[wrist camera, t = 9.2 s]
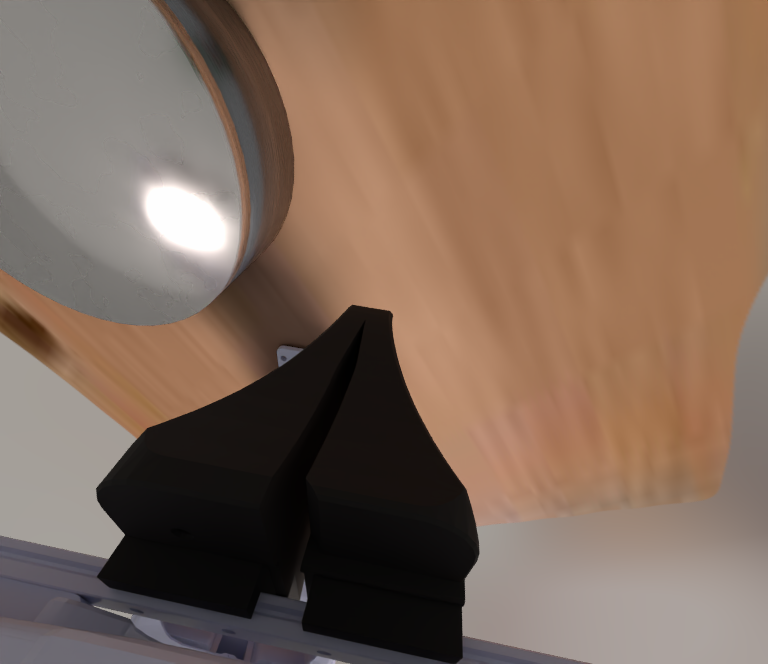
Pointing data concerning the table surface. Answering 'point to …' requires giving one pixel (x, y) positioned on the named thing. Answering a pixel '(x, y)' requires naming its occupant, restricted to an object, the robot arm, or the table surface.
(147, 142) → the lid
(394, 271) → the table surface
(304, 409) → the robot arm
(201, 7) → the cooker body
